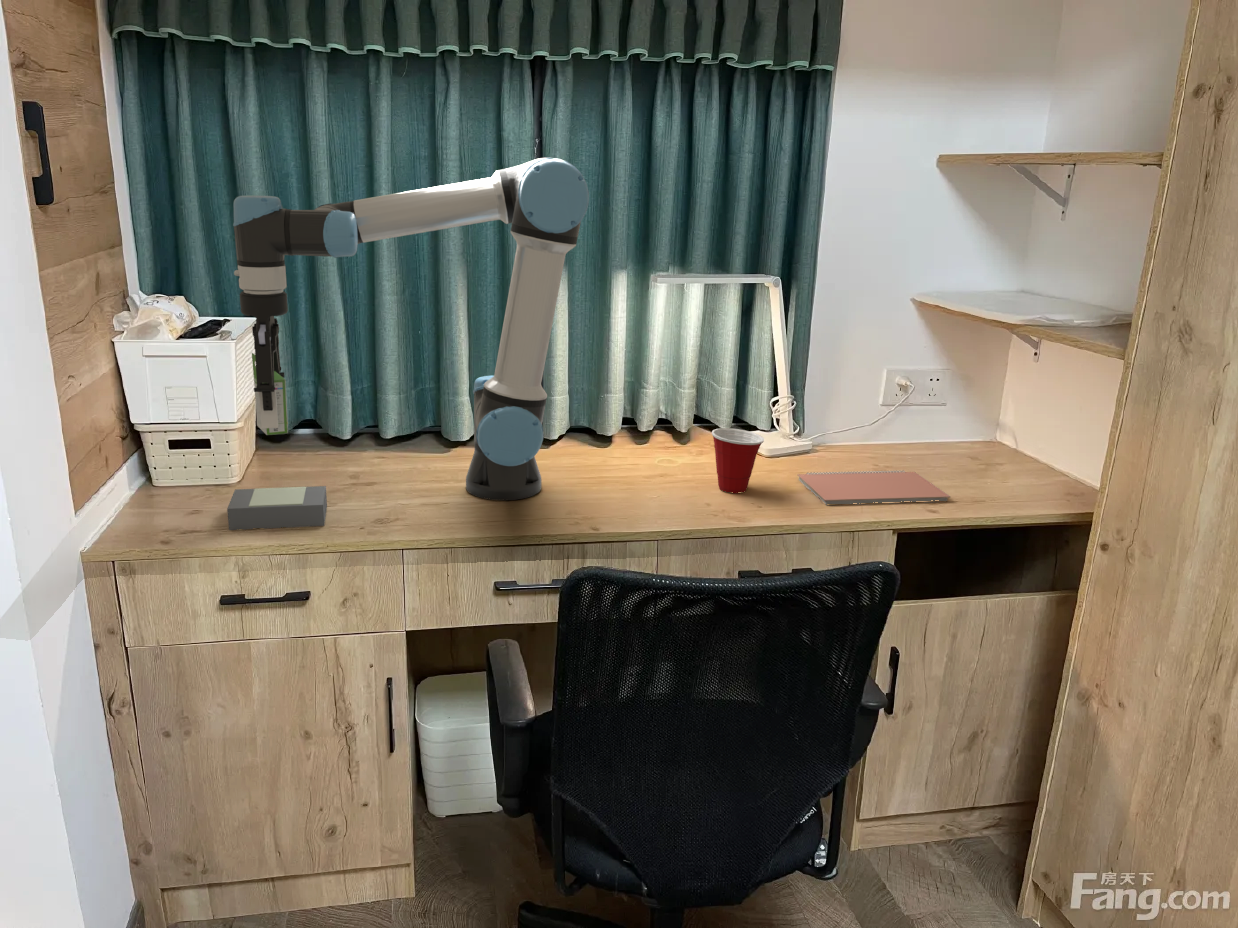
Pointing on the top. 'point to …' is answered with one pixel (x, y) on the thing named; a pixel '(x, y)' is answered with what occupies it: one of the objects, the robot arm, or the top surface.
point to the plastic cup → (735, 457)
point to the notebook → (871, 487)
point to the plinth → (277, 507)
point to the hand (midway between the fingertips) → (272, 420)
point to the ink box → (281, 403)
